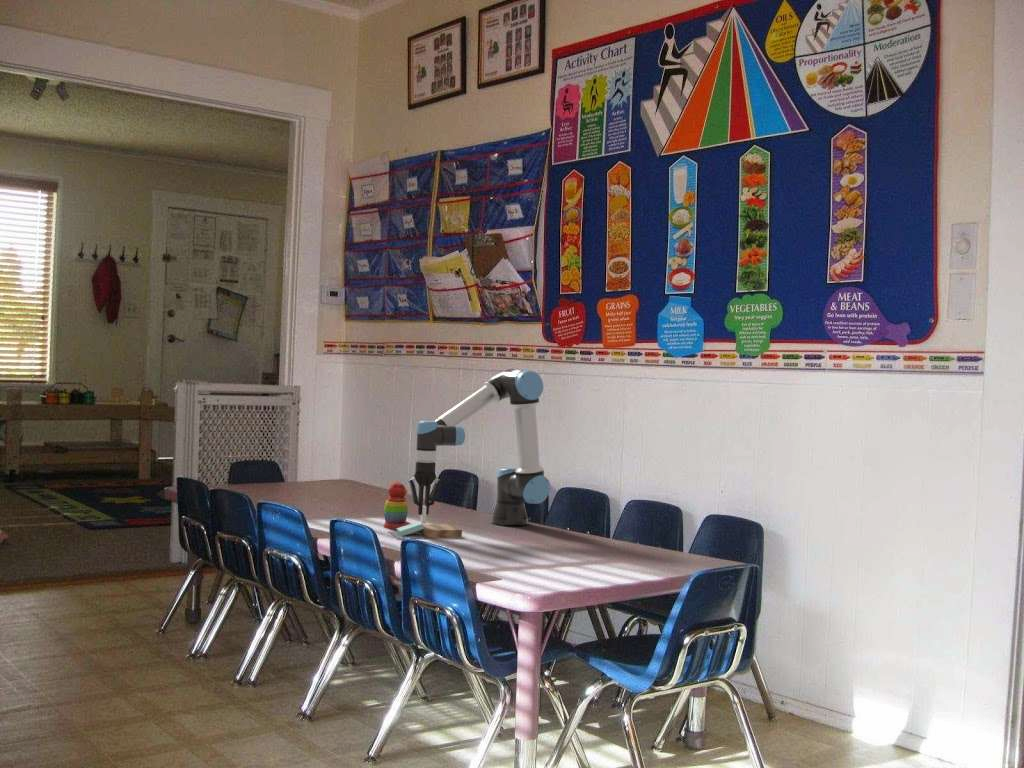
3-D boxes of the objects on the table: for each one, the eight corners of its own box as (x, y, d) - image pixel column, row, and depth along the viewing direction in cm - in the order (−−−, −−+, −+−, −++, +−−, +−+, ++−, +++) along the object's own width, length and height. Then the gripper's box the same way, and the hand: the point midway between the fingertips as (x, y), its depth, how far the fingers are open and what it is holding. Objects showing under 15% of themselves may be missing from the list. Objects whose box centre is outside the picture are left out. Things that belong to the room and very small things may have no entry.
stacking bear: (404, 530, 429) (406, 484, 429) (379, 528, 431) (381, 483, 431) (412, 526, 440) (414, 482, 439) (388, 524, 442) (389, 480, 441)
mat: (415, 531, 427) (415, 531, 427) (426, 538, 412) (426, 538, 412) (387, 532, 423) (387, 531, 423) (398, 539, 408) (398, 538, 408)
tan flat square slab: (450, 531, 431) (451, 524, 430) (461, 537, 417) (462, 529, 417) (416, 532, 426) (416, 524, 426) (426, 538, 413) (426, 530, 413)
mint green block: (419, 526, 422) (418, 521, 422) (424, 528, 416) (422, 523, 416) (397, 533, 419) (396, 528, 419) (401, 536, 413) (400, 531, 413)
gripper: (439, 460, 424) (436, 521, 425) (406, 460, 420) (403, 521, 420) (445, 462, 417) (442, 524, 418) (411, 462, 413) (408, 524, 413)
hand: (422, 523), depth 419 cm, fingers closed
